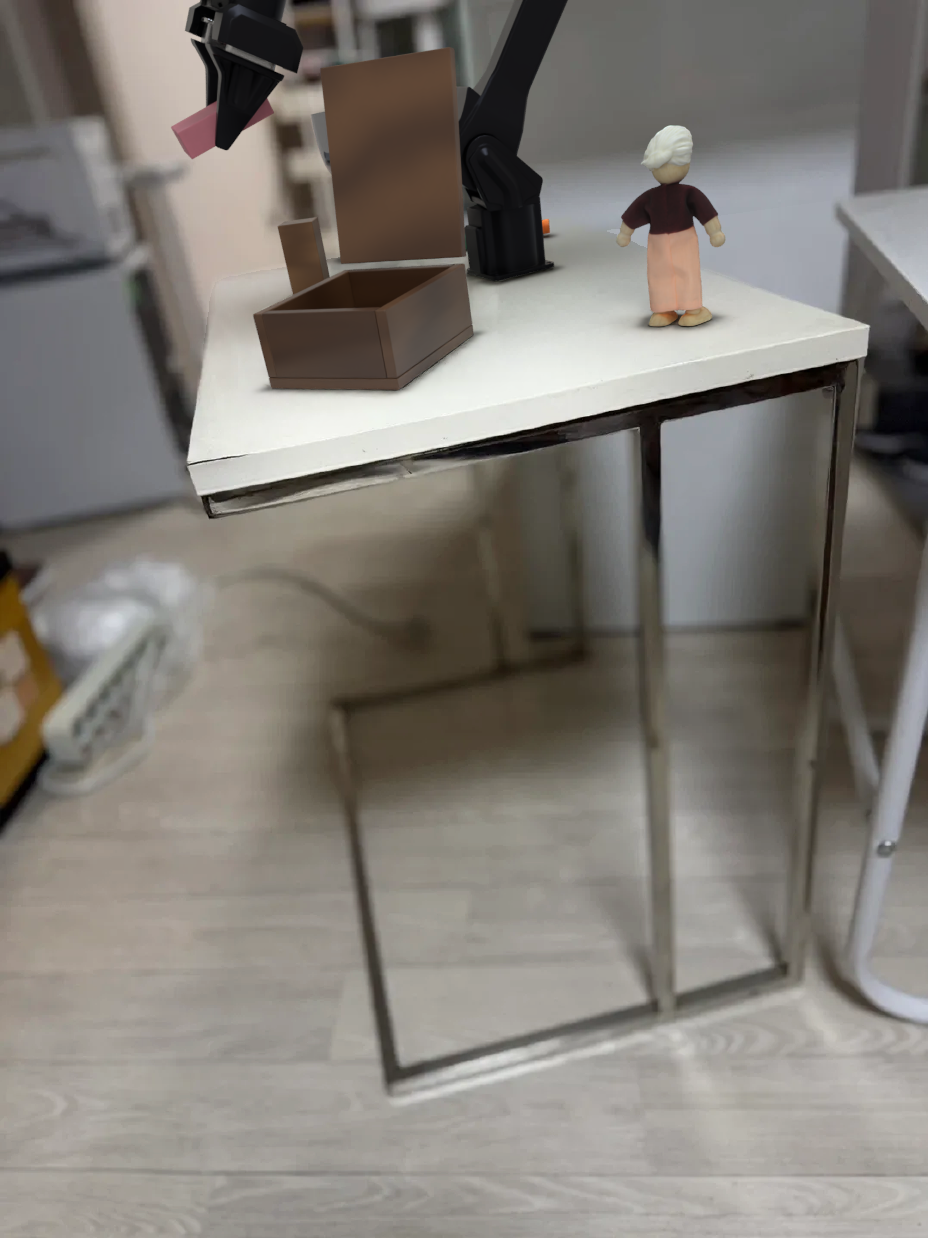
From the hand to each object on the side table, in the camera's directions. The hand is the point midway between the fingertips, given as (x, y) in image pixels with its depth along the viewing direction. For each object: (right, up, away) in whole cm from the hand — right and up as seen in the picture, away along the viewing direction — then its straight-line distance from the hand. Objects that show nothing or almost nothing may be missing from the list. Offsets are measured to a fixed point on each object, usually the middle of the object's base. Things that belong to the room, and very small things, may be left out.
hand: (216, 144), depth 79 cm
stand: (+6, -9, +13) cm, 17 cm away
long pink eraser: (+1, +1, 0) cm, 1 cm away
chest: (+15, -21, -10) cm, 28 cm away
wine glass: (+11, +2, +28) cm, 30 cm away
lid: (+16, -7, -11) cm, 21 cm away
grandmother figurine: (+36, -19, -12) cm, 43 cm away
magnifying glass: (+23, +1, +24) cm, 34 cm away
